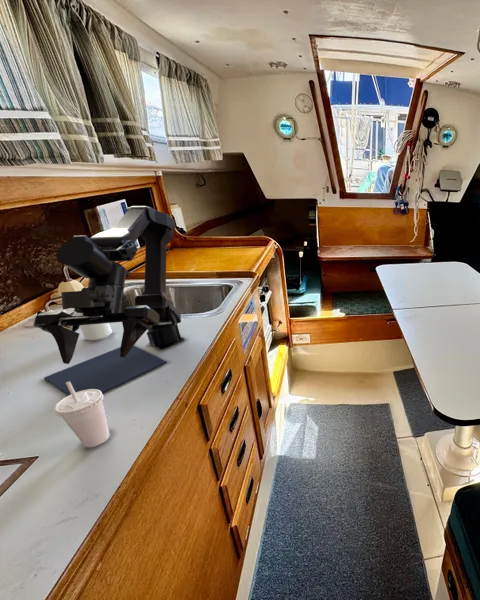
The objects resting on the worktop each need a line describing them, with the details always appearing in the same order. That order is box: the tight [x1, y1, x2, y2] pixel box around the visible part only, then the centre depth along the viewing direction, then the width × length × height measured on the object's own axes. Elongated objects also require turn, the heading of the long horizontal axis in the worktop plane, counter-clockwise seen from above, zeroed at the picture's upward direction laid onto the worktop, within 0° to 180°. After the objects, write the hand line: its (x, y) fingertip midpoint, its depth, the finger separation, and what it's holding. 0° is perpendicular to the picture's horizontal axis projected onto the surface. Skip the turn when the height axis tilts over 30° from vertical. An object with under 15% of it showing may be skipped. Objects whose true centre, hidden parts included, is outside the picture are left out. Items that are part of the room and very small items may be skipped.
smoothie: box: [53, 381, 111, 448], centre depth 59 cm, size 6×6×14 cm
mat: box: [43, 345, 168, 396], centre depth 81 cm, size 18×18×1 cm
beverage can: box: [71, 308, 113, 341], centre depth 93 cm, size 6×6×12 cm
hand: (94, 360), depth 63 cm, fingers open, 9 cm apart
